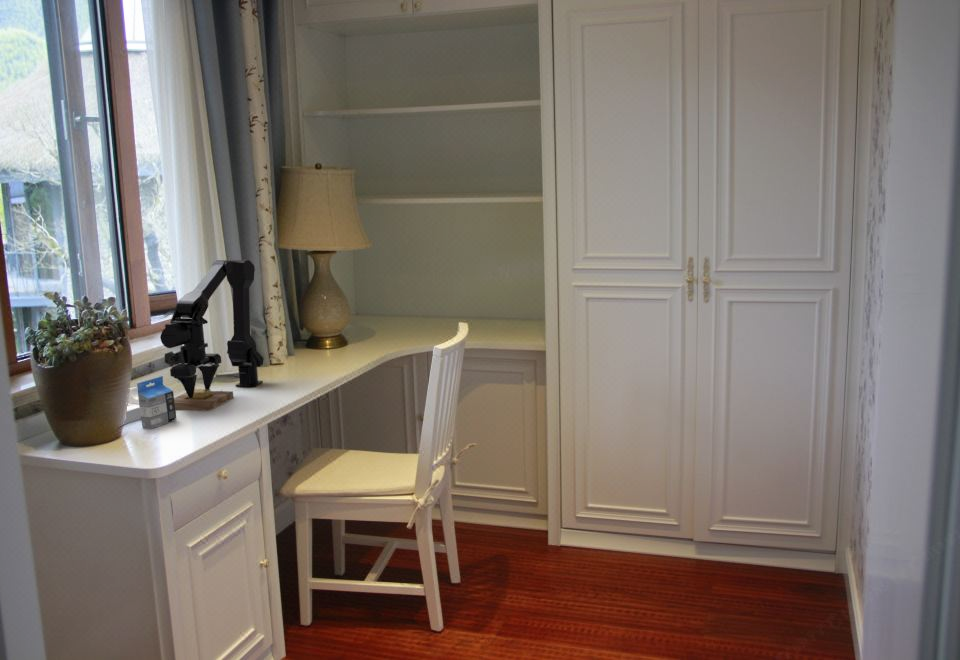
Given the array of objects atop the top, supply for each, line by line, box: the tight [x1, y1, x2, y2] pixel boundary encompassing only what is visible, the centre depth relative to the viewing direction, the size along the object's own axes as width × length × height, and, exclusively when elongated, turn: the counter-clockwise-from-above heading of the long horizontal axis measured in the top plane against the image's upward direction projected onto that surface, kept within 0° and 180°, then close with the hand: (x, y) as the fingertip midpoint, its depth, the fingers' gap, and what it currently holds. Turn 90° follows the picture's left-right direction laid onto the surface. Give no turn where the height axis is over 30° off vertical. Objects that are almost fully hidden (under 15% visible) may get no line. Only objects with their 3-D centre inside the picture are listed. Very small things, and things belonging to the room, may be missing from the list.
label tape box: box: [136, 375, 177, 429], centre depth 233 cm, size 9×4×12 cm, turn 153°
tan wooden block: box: [188, 388, 212, 400], centre depth 253 cm, size 4×5×4 cm
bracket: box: [123, 386, 141, 425], centre depth 239 cm, size 13×7×8 cm, turn 152°
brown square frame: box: [174, 390, 234, 412], centre depth 254 cm, size 14×14×2 cm
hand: (199, 393), depth 253 cm, fingers open, 9 cm apart
